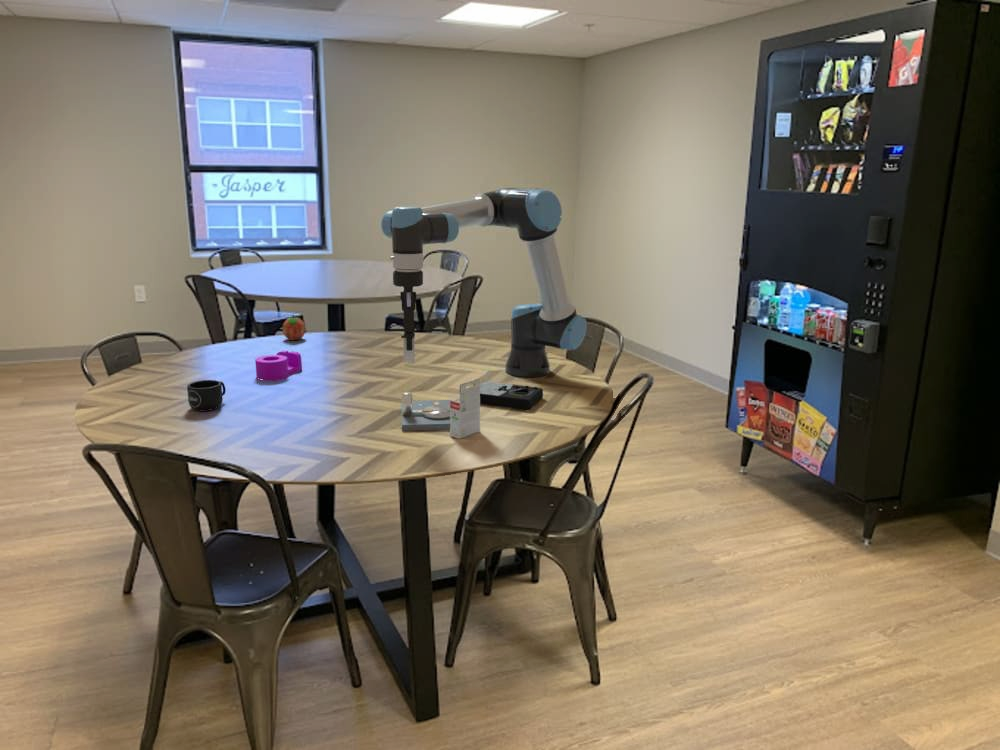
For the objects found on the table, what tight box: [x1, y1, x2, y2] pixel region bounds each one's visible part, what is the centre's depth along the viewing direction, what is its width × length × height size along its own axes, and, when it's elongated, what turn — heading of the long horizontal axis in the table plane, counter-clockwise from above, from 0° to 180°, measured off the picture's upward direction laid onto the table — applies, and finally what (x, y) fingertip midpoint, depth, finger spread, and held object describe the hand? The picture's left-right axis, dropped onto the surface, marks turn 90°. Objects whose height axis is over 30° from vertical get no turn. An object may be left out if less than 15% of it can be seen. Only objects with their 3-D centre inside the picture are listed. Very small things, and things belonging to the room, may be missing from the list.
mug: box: [186, 379, 226, 411], centre depth 214 cm, size 12×9×7 cm
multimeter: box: [480, 381, 544, 411], centre depth 225 cm, size 13×19×5 cm
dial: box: [401, 391, 450, 420], centre depth 206 cm, size 14×9×6 cm, turn 98°
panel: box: [400, 399, 452, 432], centre depth 210 cm, size 20×21×2 cm
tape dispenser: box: [254, 350, 303, 381], centre depth 248 cm, size 16×10×6 cm, turn 163°
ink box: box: [449, 378, 481, 440], centre depth 195 cm, size 4×8×15 cm, turn 140°
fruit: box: [282, 314, 306, 341], centre depth 297 cm, size 9×10×10 cm
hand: (409, 359), depth 196 cm, fingers open, 4 cm apart
